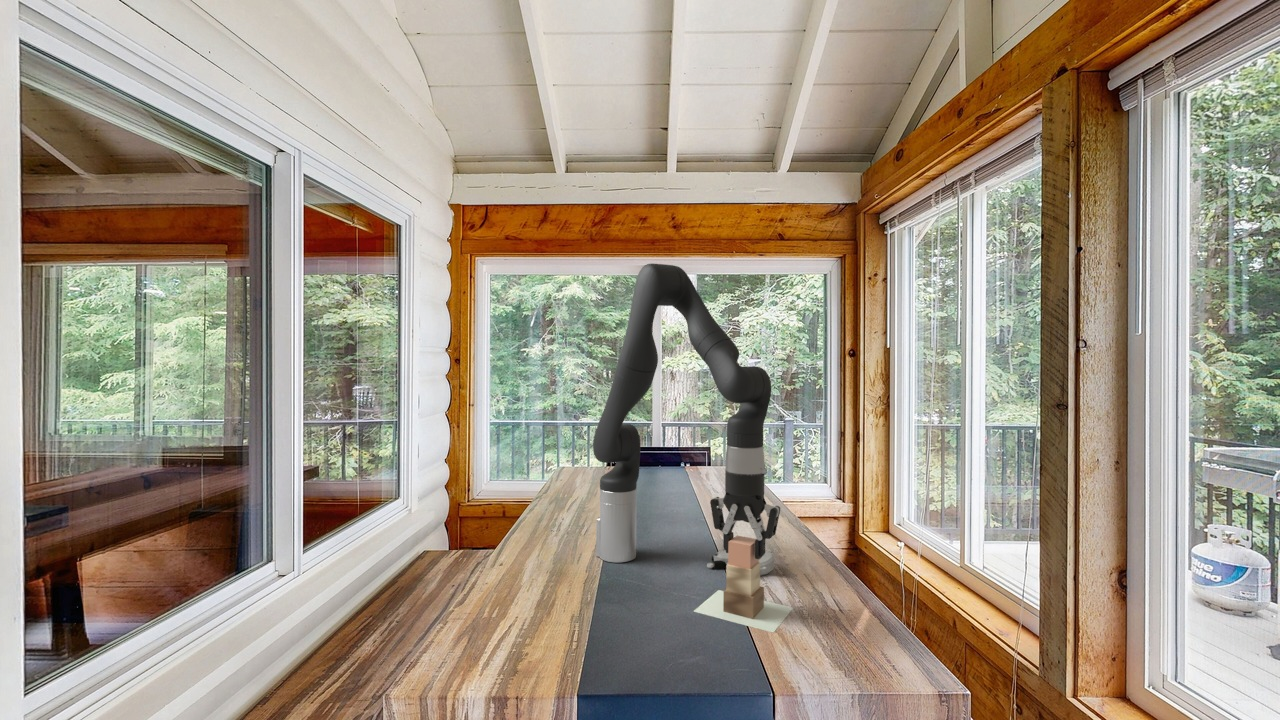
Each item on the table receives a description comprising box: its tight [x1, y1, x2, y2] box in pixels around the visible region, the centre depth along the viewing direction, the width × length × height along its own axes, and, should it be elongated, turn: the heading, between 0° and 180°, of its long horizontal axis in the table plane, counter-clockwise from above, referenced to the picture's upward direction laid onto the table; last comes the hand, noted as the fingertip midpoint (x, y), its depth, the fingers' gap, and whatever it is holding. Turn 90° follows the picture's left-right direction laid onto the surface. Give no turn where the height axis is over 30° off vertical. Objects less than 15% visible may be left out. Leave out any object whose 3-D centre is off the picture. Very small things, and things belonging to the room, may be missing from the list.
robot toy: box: [706, 549, 777, 577], centre depth 136 cm, size 12×4×15 cm
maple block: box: [725, 562, 761, 596], centre depth 113 cm, size 5×5×5 cm
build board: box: [693, 589, 794, 634], centre depth 113 cm, size 16×12×1 cm
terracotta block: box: [728, 534, 759, 569], centre depth 113 cm, size 4×4×4 cm
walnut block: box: [723, 585, 765, 619], centre depth 113 cm, size 6×6×4 cm
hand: (744, 554), depth 113 cm, fingers open, 5 cm apart
